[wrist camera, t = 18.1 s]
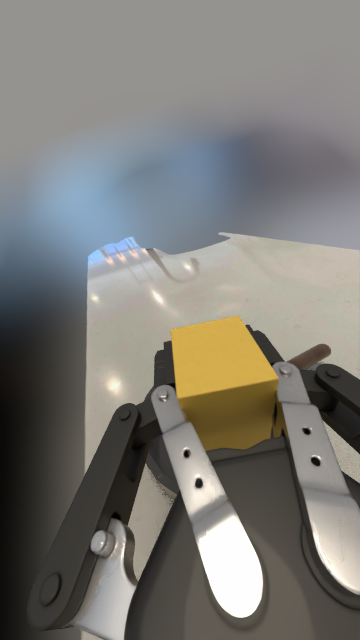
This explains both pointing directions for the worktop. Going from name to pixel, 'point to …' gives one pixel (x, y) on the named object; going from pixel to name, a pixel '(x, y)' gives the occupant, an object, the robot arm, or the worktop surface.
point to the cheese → (224, 383)
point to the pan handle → (311, 356)
